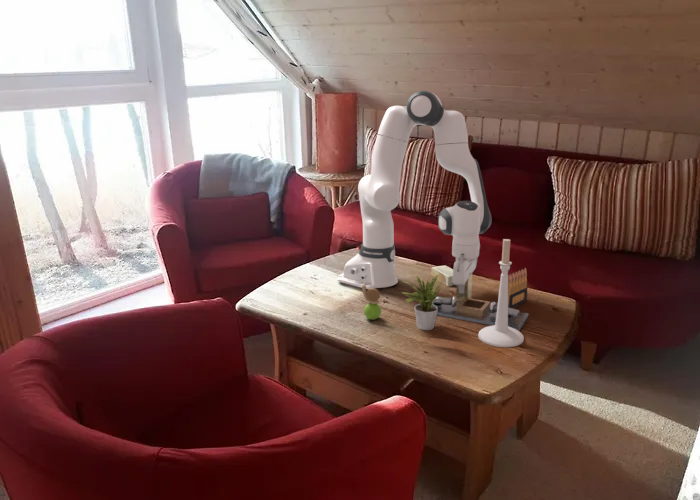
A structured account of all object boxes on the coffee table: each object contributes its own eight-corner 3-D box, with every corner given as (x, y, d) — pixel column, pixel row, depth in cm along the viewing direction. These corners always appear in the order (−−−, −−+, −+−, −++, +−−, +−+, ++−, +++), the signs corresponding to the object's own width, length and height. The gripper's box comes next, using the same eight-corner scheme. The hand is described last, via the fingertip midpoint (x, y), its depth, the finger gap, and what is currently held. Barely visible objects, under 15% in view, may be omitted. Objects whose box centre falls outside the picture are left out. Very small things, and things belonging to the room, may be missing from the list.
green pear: (365, 314, 187) (365, 278, 183) (384, 317, 184) (384, 281, 181) (358, 320, 182) (357, 284, 179) (376, 323, 179) (376, 287, 176)
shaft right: (520, 319, 178) (521, 306, 176) (514, 323, 175) (515, 310, 174) (493, 312, 183) (494, 300, 182) (487, 316, 181) (488, 303, 180)
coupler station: (419, 311, 188) (419, 301, 187) (433, 299, 198) (433, 290, 197) (519, 330, 173) (520, 319, 172) (528, 316, 183) (529, 306, 182)
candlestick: (533, 339, 166) (541, 239, 158) (501, 351, 160) (508, 247, 151) (499, 324, 177) (505, 230, 168) (469, 335, 170) (473, 236, 162)
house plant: (414, 312, 187) (415, 264, 183) (455, 320, 180) (457, 271, 176) (395, 328, 175) (395, 278, 171) (437, 338, 169) (439, 285, 164)
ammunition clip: (509, 310, 188) (511, 275, 185) (504, 308, 189) (506, 273, 186) (526, 301, 195) (529, 267, 191) (522, 300, 196) (524, 266, 193)
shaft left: (427, 308, 188) (427, 296, 187) (429, 304, 191) (429, 292, 190) (455, 311, 185) (455, 298, 184) (456, 307, 188) (457, 294, 187)
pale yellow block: (455, 300, 197) (456, 273, 194) (459, 296, 200) (460, 269, 197) (467, 302, 195) (468, 274, 192) (471, 298, 198) (472, 271, 196)
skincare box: (462, 285, 211) (445, 275, 222) (463, 274, 209) (446, 264, 220) (447, 288, 208) (430, 277, 219) (447, 276, 207) (431, 267, 218)
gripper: (468, 260, 182) (466, 301, 186) (481, 243, 200) (479, 281, 204) (448, 258, 185) (447, 298, 189) (463, 241, 203) (461, 278, 207)
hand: (464, 289), depth 197 cm, fingers open, 5 cm apart
